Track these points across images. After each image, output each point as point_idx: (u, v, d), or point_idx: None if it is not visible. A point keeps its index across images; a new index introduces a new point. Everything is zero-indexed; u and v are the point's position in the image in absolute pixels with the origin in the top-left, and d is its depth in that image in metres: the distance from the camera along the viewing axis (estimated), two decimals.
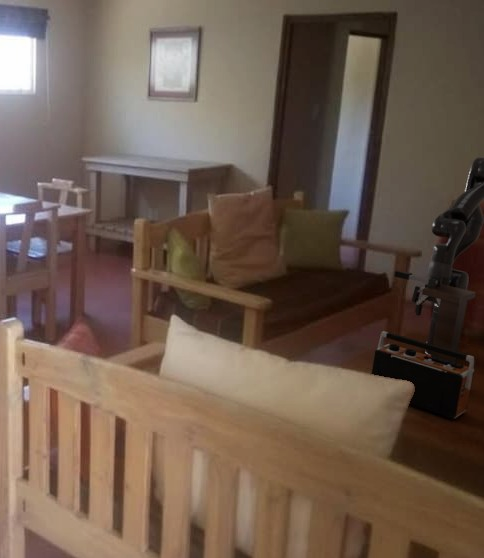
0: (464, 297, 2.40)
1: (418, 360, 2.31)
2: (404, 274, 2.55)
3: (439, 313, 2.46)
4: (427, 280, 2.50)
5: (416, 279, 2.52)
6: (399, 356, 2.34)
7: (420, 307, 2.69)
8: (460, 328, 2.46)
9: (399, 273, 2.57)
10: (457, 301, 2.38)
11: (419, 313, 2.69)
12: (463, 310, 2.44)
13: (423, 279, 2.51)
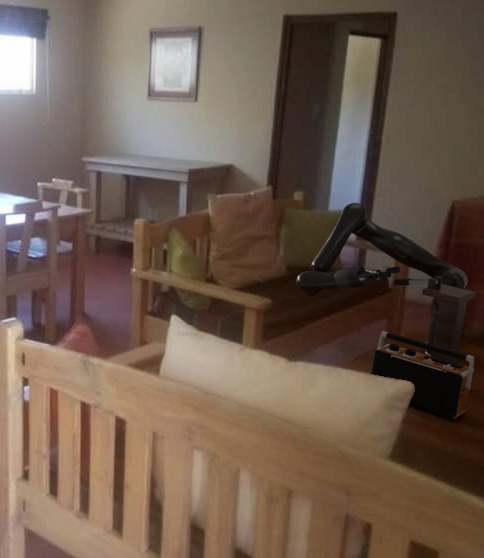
0: (464, 297, 2.40)
1: (418, 360, 2.31)
2: (403, 280, 2.56)
3: (439, 313, 2.46)
4: (427, 281, 2.50)
5: (416, 282, 2.53)
6: (399, 356, 2.34)
7: (391, 271, 2.67)
8: (460, 328, 2.46)
9: (398, 280, 2.57)
10: (457, 301, 2.38)
11: (397, 269, 2.66)
12: (463, 310, 2.44)
13: (423, 281, 2.51)
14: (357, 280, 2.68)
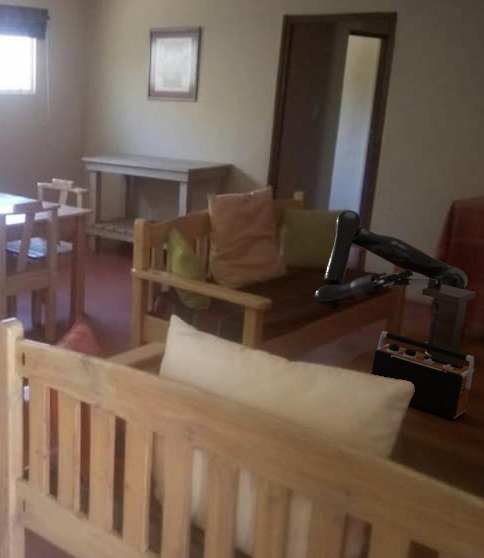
0: (464, 297, 2.40)
1: (418, 360, 2.31)
2: (403, 280, 2.56)
3: (439, 313, 2.46)
4: (427, 281, 2.50)
5: (416, 282, 2.53)
6: (399, 356, 2.34)
7: None
8: (460, 328, 2.46)
9: (398, 280, 2.57)
10: (457, 301, 2.38)
11: None
12: (463, 310, 2.44)
13: (423, 281, 2.51)
14: (371, 287, 2.62)
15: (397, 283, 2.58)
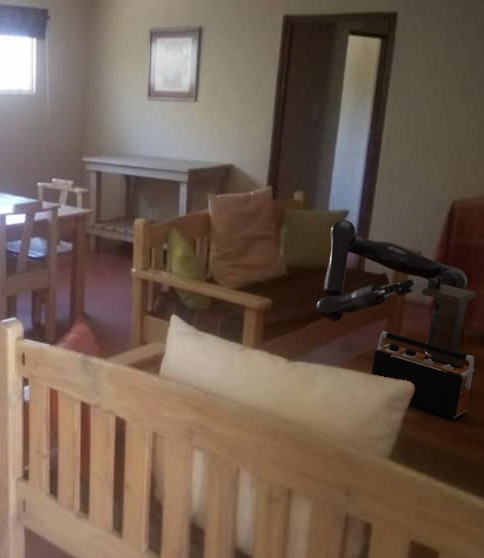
0: (464, 297, 2.40)
1: (418, 360, 2.31)
2: (405, 289, 2.56)
3: (439, 313, 2.46)
4: (427, 282, 2.50)
5: (417, 287, 2.53)
6: (399, 356, 2.34)
7: None
8: (460, 328, 2.46)
9: (400, 290, 2.57)
10: (457, 301, 2.38)
11: None
12: (463, 310, 2.44)
13: (423, 283, 2.51)
14: (372, 297, 2.63)
15: (400, 293, 2.57)
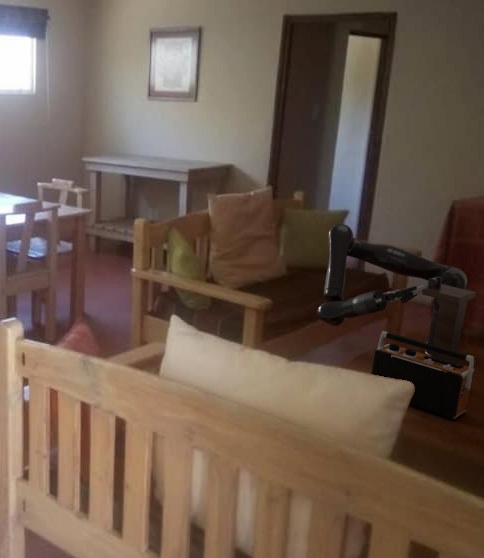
0: (464, 297, 2.40)
1: (418, 360, 2.31)
2: None
3: (439, 313, 2.46)
4: (427, 283, 2.50)
5: (419, 290, 2.52)
6: (399, 356, 2.34)
7: (408, 292, 2.59)
8: (460, 328, 2.46)
9: (403, 297, 2.57)
10: (457, 301, 2.38)
11: (414, 289, 2.57)
12: (463, 310, 2.44)
13: (424, 285, 2.51)
14: (374, 304, 2.63)
15: (404, 300, 2.57)
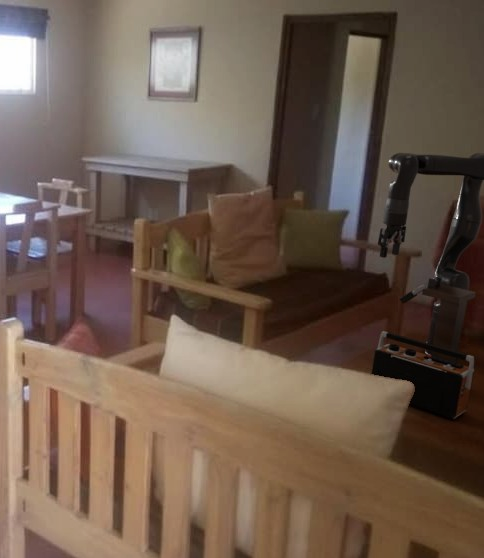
0: (464, 297, 2.40)
1: (418, 360, 2.31)
2: (407, 294, 2.55)
3: (439, 313, 2.46)
4: (427, 283, 2.50)
5: (419, 290, 2.52)
6: (399, 356, 2.34)
7: (395, 246, 2.68)
8: (460, 328, 2.46)
9: (403, 297, 2.57)
10: (457, 301, 2.38)
11: (394, 252, 2.68)
12: (463, 310, 2.44)
13: (424, 285, 2.51)
14: (386, 222, 2.61)
15: (404, 300, 2.57)
